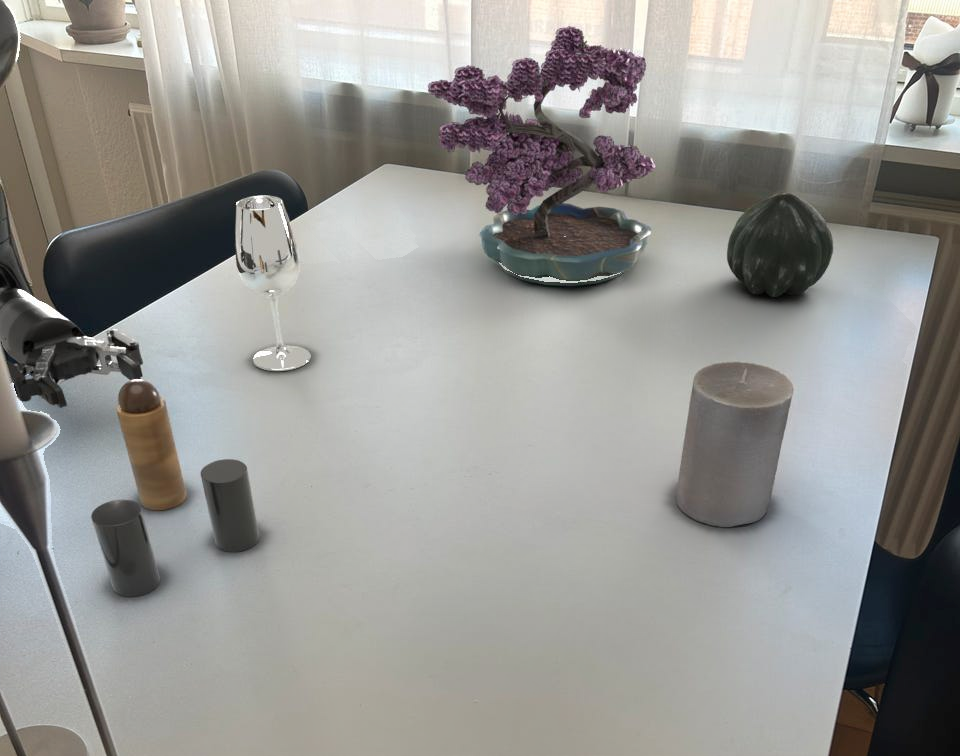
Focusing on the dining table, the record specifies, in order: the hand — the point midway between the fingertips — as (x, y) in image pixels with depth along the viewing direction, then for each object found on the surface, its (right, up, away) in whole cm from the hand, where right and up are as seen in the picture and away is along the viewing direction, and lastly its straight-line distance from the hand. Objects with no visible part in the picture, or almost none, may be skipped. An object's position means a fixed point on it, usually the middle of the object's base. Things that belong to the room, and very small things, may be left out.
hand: (100, 386), depth 107 cm
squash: (+85, +26, +43) cm, 99 cm away
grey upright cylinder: (+16, -17, -6) cm, 24 cm away
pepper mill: (+7, -12, 0) cm, 14 cm away
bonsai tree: (+51, +32, +51) cm, 79 cm away
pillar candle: (+66, -13, -2) cm, 68 cm away
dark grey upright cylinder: (+8, -22, -12) cm, 26 cm away
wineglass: (+14, +10, +26) cm, 31 cm away
